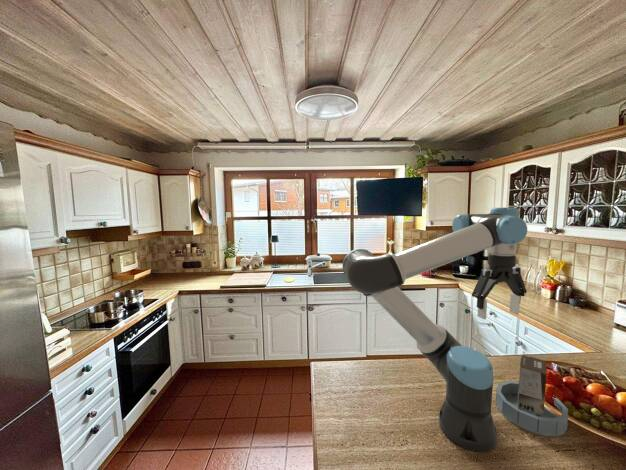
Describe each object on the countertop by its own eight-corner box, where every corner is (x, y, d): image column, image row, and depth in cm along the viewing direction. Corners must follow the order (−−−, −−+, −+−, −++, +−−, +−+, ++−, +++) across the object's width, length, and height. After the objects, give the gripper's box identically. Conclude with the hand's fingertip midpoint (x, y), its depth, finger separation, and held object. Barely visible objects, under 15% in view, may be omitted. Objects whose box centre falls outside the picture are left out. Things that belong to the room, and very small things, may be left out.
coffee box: (543, 424, 80) (547, 374, 78) (516, 414, 84) (519, 366, 82) (542, 406, 87) (546, 360, 85) (517, 398, 91) (520, 353, 89)
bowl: (541, 444, 74) (542, 428, 74) (483, 401, 91) (484, 387, 90) (580, 427, 80) (581, 411, 79) (519, 389, 96) (520, 376, 96)
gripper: (480, 258, 81) (477, 324, 83) (543, 253, 87) (538, 315, 89) (461, 254, 88) (458, 315, 91) (520, 250, 94) (516, 307, 96)
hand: (498, 315), depth 90 cm, fingers open, 13 cm apart
